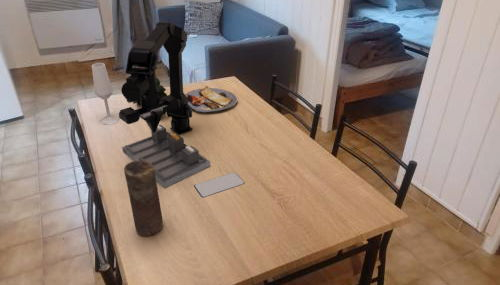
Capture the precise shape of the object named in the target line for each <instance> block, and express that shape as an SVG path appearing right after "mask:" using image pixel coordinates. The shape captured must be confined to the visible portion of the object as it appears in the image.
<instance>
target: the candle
mask: <svg viewBox="0 0 500 285" xmlns="http://www.w3.org/2000/svg"><path fill="white" fill-rule="evenodd" d="M123 169H124V170H123V172H124V176H125V180H126V185H127V193H128V196H129V201H130V208H131V212H132V217H133V222H134V223H133V224H134V227H135V231H136V234H137V235H138V236H143V237H148V236H150V235H153V234H156V233H158V232H159V231H160V230H161V229H162V226H163V222H164V220H163V214H162V209H161V208H162V207H161V202H160V201H161V200H160V196H159V190H158V189H159V188H158V184H157V183H158V182H157V181H156V177H155V170H154V166H153V165H152V164H151V163H150V162H148V161H133V160H132V161H131V162H128V163H126V165H124V168H123Z"/></svg>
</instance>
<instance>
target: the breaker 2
mask: <svg viewBox="0 0 500 285" xmlns="http://www.w3.org/2000/svg"><path fill="white" fill-rule="evenodd" d="M199 154H200V153H199V149H197V148H196V147H194V146H193V145H187V147H185V149H183V150H182V160H183V162H184V163H186V164H187V165H188V166H191V165H193V164H195V163H197V162H199Z"/></svg>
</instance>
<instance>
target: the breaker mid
mask: <svg viewBox="0 0 500 285" xmlns="http://www.w3.org/2000/svg"><path fill="white" fill-rule="evenodd" d="M184 139H185V138H184V137H183V136H182V135H181V134H180V135H179V134H177V133H173V134H171V136H170V137H168V146H169V149H170V150H172V151H173V152H174V153H175V152H178V151H180V150H183V149H185V148H184V144H185V140H184Z"/></svg>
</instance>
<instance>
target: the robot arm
mask: <svg viewBox="0 0 500 285" xmlns="http://www.w3.org/2000/svg"><path fill="white" fill-rule="evenodd" d="M187 40H188V34H187V32H186V30H184V28H182V27H179V26H177V25H175V24H174V23H173V22H171V21H170V22H169V21H158V22H157V23H156V25H155V27H154V29H153V30H152V31H151V32H150V33H149V35H148V36H147V38H146V39H145V40H143V41H141V42H138V43H136V44H135V45H133V46H132V47H131V48H130V49H129V51H128V55H127V60H126V61H127V62H126V68H125V75H126V74H127V75H130V76H127V77H126V78H125V80H126V82H124V84H122V85H121V90H120V92H121V94H122V95H123V97H124V99H126V100H125V101H126V103H128V104H129V103H132V104H133V105H135V104H136V106H137V107H140V108H137V109H135V108H133V107H131V106H129V107H126V108H122V109H120V111H119V113H118V116H119V120H121V121H122V122H124V123H125V124H127V125H130V124H134V123H137V122H139V121H140V118H141V119H142V120H143V121H145V122H146V125H147V126H148V127H149V129H150V132H151V131H152V132H153V133H154V132H156V130H157V127H158V125H160V122H161V120H162V118H163V117H164V115H167V118H170V119H171V120H170V130H171V131H173V132H174V133H175V134H178V135H180V136H181V135H182V134H185V133H187V132H190V131H193V128H192V126H191V124H190V118H192V117H193V108H191V107H190V106H189V104H188V99H187V97H186V96H185V94H186V93H184V82H183V52H184V51H185V49H186V47H187ZM162 47H163V48H164V49H165V51H166V53H167V54H168V73H169V74H168V76H169V92H170V93H169V94H167V96H164V97H161V99H160V102H159V99H158V95H160V92H159V91H158V90H157V83H156V77H157V76H156V70H157V69H158V67H157V64H158V60H159V55H158V54H159V51H160V50H161V49H162ZM163 107H165V110H166V114H165V112H164V111H163Z"/></svg>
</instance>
